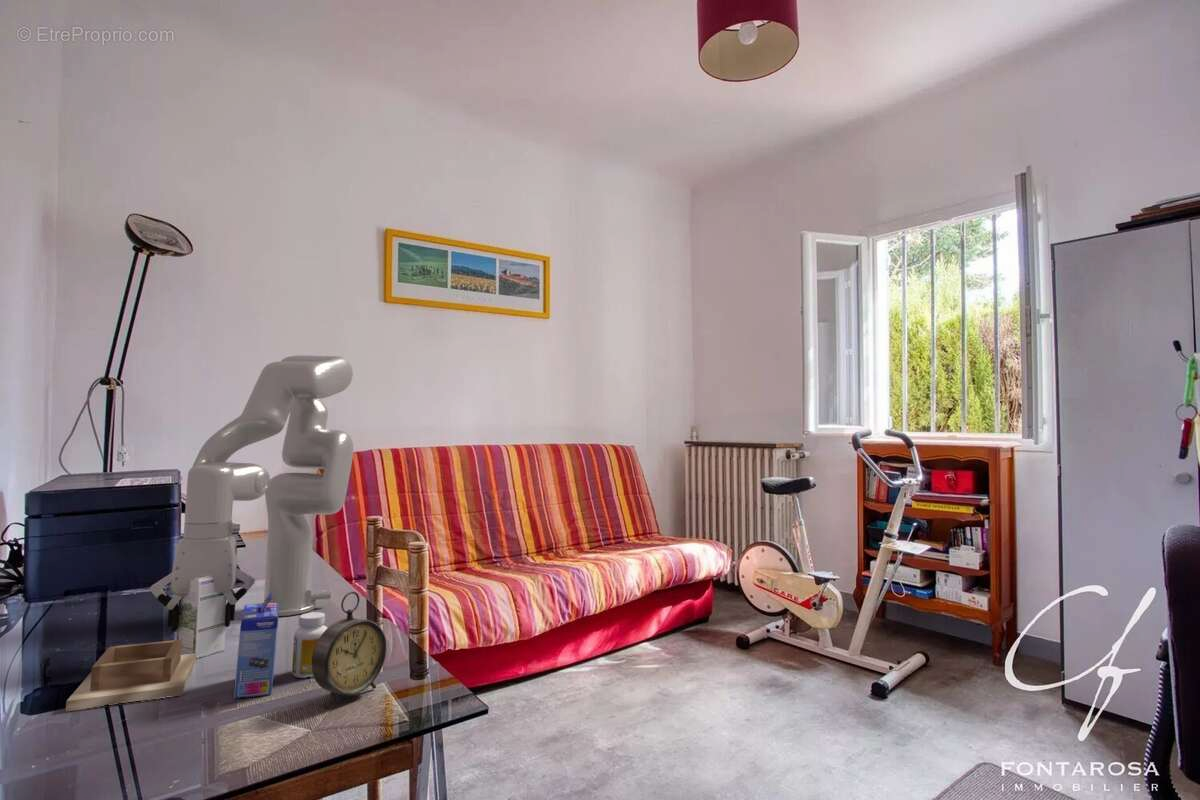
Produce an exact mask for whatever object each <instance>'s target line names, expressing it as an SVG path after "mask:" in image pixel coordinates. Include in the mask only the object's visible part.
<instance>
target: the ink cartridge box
mask: <svg viewBox="0 0 1200 800" xmlns="http://www.w3.org/2000/svg"><path fill="white" fill-rule="evenodd" d="M271 598H272V592H271V593H270V594H269V595H268V597H267V598H266V600H265V602H264V601H263V602H264V603H263V602H261V603H250V604H244V606H243V610H242V615H241V620H240V627H239V628H240V629H239V636H238V647H237V648H238V649H237V658H236V660H237V661H236V671H235V682H234V692H233V698H234V699H243V697H245V698H252V697H254V698H255V697H263V696H270V695H272V691H273V681H274V674H275V665H276V653H277V641H278V639H277V638H278V628H279V616H278V603H269V601H270V600H271ZM241 697H242V698H241Z"/></svg>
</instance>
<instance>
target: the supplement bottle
mask: <svg viewBox="0 0 1200 800" xmlns="http://www.w3.org/2000/svg"><path fill="white" fill-rule="evenodd" d="M325 619H326V614H325V613H324V612H319V611H317V612H315V611H314V612H312V611H311V612H305V613H301V615H300V616H299V620H298V625H299V627H298V628H297V629H296V630H295V631H294V635H293V645H292V646H293V649H292V666H291V670H292V671H291V673H292V676H293V677H295V678H300V679H308V678H307V677H310V678H314V676H313V672H312V656H313V651H314V648H315V646H316V644H317V642H318V640H319V638H320V637H321V635H322V634H323V633H324V631H325V630H326V629H327V628H328V626H326V625H324V624H325V621H326V620H325Z"/></svg>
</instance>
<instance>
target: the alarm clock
mask: <svg viewBox="0 0 1200 800" xmlns="http://www.w3.org/2000/svg"><path fill="white" fill-rule="evenodd" d="M352 594H353V595H355V596H356V598H357V601H356V605H355V607H354V608H353V609H350V608H349V609H347V610H345V608H344V602H345V600H346V598H347V597H348V596H349V595H352ZM340 603H341V604H340V606H341V610H342V612H343V613H345V614H347V616H346V617H345V618H340V619H338V620H337V621H335V622H334V623H332V624H331V625H329V626H327V629H326V630H325V631H324V633H323V634H322V635H321V637H320V638H319V640H318V642H317V644H316V646H315V648H314V651H313V656H312V672H313V676H314V677H313V678H314V680H315V681H316V683H317V684H318V686H319V687H321V688H322V689H323V690H326V691H327V692H330V694H329V696H328V697H327V701H326V703H325V704H324V706H323V707H324V709H328V708H330V704H331V702H332V701H333V699H334V697H335V695H341V696H354V695H357V694H359V693H361V692H363V691H364V690H366V689H367V688H369V686H370V687H371V688H372V689H373V690H375V689H376V688H377V685H376V684H374V682H375V680H376V679H377V677H378V676H379V675H380V672H381V670H382V668H383V666H384V662H385V661H386V660H385V659H386V655H387V640H386V636H385V633H384V631H383V629H382V628H381V626H380V625H379V624H377V623H376V622H375V621H373V620H370V619H362V618H359V617H358V618H357V617H354V616H353V613H354V612H355V611H356V610H357V608H358V607H359V604H360V595H359V593H358V592H356V591H349V592H347V593H346V594H345V595H344V596H343V598H342V599H341V602H340ZM374 688H375V689H374Z"/></svg>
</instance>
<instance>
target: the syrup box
mask: <svg viewBox="0 0 1200 800" xmlns="http://www.w3.org/2000/svg"><path fill="white" fill-rule="evenodd" d="M227 601H228V600H227V599H226V597H225V596H224V594H223V593H216V592H215V589H214V580H213V577H212V576H205V577H198V578H193V579H191V583H190V590H189V594H188V595H186V596H182V597H181V599H180V600H179V601H178V605H179V614H178V628H177V630H176V631H177V634H176V640H182V645H181V655H185V654H194V653H197V656H196V658H198V659H200V658H199V657H201V656H206V655H209V654H212V655H214V654H213V653H215V654H217V653H216V652H218V651H220V650H223V649H224V650H225V642H226V641H225V637H226V626H225V611H226V604H227ZM209 656H210V655H209ZM206 657H207V656H206Z"/></svg>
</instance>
